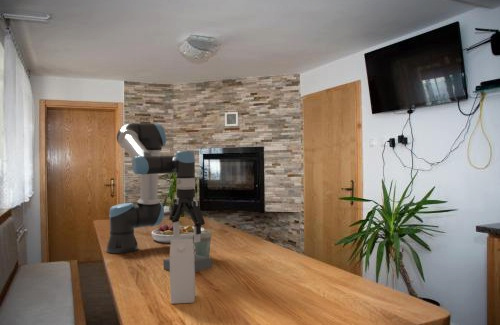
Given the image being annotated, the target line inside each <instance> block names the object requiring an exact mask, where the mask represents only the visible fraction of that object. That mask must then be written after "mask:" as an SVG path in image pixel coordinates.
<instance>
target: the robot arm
mask: <svg viewBox="0 0 500 325" xmlns="http://www.w3.org/2000/svg"><path fill="white" fill-rule="evenodd" d="M116 141H117V143H118V144H119V146H120V148H123V149H124V150H125V151H126V152H127V154H128V155H129V157H130V158H131V168H132V169H131V170H132V172H133V173H134V174H135V175H140V193H139V194H140V198H138V200H137V202H136V205H135V204H134V203H133V202H125V203H119V204H115V205H112V206H110V208H109V215H108V217H109V238H108V241H107V244H106V252H107V253H108V254H124V253H125V254H126V253H131V252H134V251H137V250H138V249H139V243H138V241H137V239H136V236H135V229H138V228H146V227H156V226H159V225H161V224H162V222H163V220H164V214H165V210H164V205H163V204H162V203H161V200H160V199H159V198H158V182H159V175H161V174H176V188H177V189H176V198H174V199H173V204H172V208H171V211H170V214H169V217H168V219H169V221H171V222H172V224H173V238H177V237H180V226H181V225H180V218H181V216H182V215H183V213H184V211H185V212H187V213H188V214H189V216H190V218H191V219H192V222H193V224H194V243H196V242H200V234H201V228H202V226H203V225H205V219H204V217H203V213H202V210H201V206H200V201H199V200H196V201H195V200H194V198H196V189H195V187H196V171H195V170H196V169H195V168H196V166H195V164H196V159H195V156H196V155H195V152H194V151H193V150H179V151H178V150H177V151H176V154H175V155H159V153H160V152H161V151H162V148H163V147H165V145H166V142H167V134H166V130H165V128H164V126H163V125H161V124H160V123H154V122H153V123H152V122H151V123H150V122H149V123H148V122H147V123H146V122H143V123H140V122H130V123H127V124H124V125H123V126H122V127H120V128H119V130H118V131H117V133H116Z"/></svg>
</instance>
